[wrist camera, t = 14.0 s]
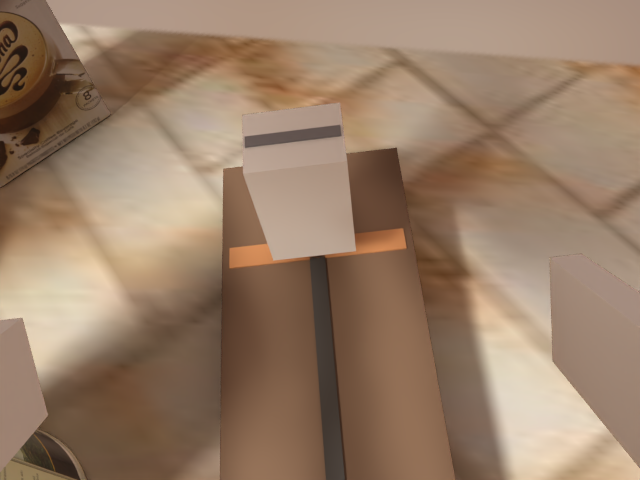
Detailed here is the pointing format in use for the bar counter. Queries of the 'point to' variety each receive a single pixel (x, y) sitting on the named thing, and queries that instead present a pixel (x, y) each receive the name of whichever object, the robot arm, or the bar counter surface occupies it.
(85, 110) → the cookie box
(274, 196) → the fader
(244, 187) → the brown slab
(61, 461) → the coffee can
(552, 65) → the bar counter surface
